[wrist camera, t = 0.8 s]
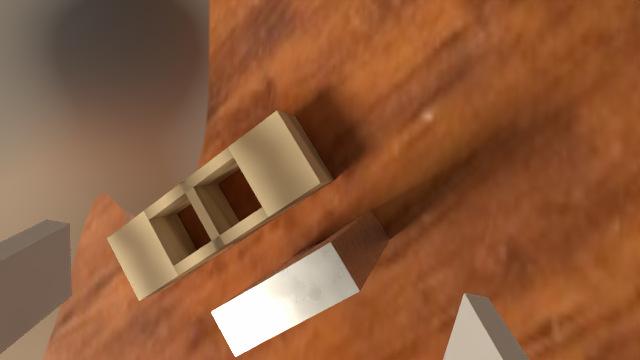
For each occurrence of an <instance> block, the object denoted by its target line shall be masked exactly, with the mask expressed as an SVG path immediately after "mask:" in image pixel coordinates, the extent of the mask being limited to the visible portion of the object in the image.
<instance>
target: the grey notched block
mask: <svg viewBox="0 0 640 360" xmlns="http://www.w3.org/2000/svg"><path fill="white" fill-rule="evenodd" d="M389 240H390V239H389V237H388V236H387V234H386V232H385V231H384V229H383V227H382V226H381V224H380V223H379V221H378V219H377V218H376V216H375V215H374V213H373V211H372V210H371V211H369V212H367V213H366V214H364V215H362V216H361V217H359V218H357V219H356V220H354V221H352V222H350V223H349V224H347V225H345V226H344V227H342V228H341V229H340V230H338V231H337V232H335V233H334V234H333V235H331V236H330V237H329V238H327V239H326V240H325V241H323V242H321V243H320V244H318V243H315V244H314V245H312V246H310V247H308V248H307V249H305V250H303V251H302V252H300V253H298V254H297V255H295V256H293V257H292V258H290V259H289V260H287V261H286V262H284V263H283V264H281V265H280V266H278V267H277V268H276V269H274V270H273V271H271V272H270V273H268V274H267V275H265V276H264V277H262V278H261V279H259V280H258V281H256V282H255V283H253V284H252V285H251V286H249V287H248V288H246V289H245V290H243V291H242V292H240V293H239V294H237V295H236V296H234V297H233V298H231V299H230V300H229V301H227V302H226V303H224V304H223V305H221V306H220V307H218V308H217V309H215V310H214V311H212V314H213V316H214V318H215V320H216V322H217V324H218V325H219V327H220V329H221V331H222V333H223V335H224V337H225V338H226V340H227V342H228V344H229V346H230V348H231V350H232V351H233V353H234V355H235V357H236V356H237V355H239V354H241V353H243V352H245V351H247V350H249V349H251V348H253V347H255V346H257V345H258V344H260V343H262V342H264V341H266V340H268V339H270V338H272V337H274V336H276V335H278V334H279V333H281V332H283V331H285V330H287V329H289V328H291V327H293V326H295V325H297V324H298V323H300V322H302V321H304V320H306V319H308V318H310V317H312V316H314V315H316V314H318V313H319V312H321V311H323V310H325V309H327V308H329V307H331V306H333V305H335V304H337V303H338V302H340V301H342V300H344V299H346V298H348V297H350V296H352V295H354V294H356V293H358V292H359V291H360V290H361V289H362V287H363V285H364V283H365V282H366V280H367V278H368V276H369V275H370V273H371V271H372V270H373V268H374V266H375V264H376V263H377V261H378V259H379V258H380V256H381V254H382V252H383V251H384V249H385V247H386V246H387V244H388V242H389Z"/></svg>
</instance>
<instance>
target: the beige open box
mask: <svg viewBox="0 0 640 360" xmlns="http://www.w3.org/2000/svg"><path fill="white" fill-rule="evenodd" d="M239 169H241V171H242V173H243V174H244V176H245V178H246V179H247V181H248V183H249V185H250V186H251V188H252V190H253V192H254V193H255V195H256V197H257V198H258V200H259V202H260V204H261V205H262V208H260V209H259V210H257V211H256V212H254V213H253V214H251V215H250V216H248V217H247V218H245V219H244V220H242V221H241V222H239V220H238V218H237V216H236V215H235V213H234V211H233V209H232V208H231V206H230V204H229V202H228V201H227V199H226V197H225V195H224V194H223V192H222V190H221V188H220V187H219V185H218V184H219V183H221V182H222V181H223V180H225V179H226V178H228V177H229V176H230V175H232V174H233V173H235V172H236V171H237V170H239ZM332 181H334V179H333V178H332V176H331V174H330V173H329V171H328V169H327V168H326V166H325V164H324V163H323V161H322V160H321V158H320V156H319V155H318V153H317V151H316V150H315V148H314V146H313V145H312V143H311V142H310V140H309V138H308V137H307V135H306V133H305V132H304V130H303V128H302V127H301V125H300V124H299V122H298V120H297V119H296V117H295V116H293V115H290V114H287V113H283V112H280V111H275V112H274V113H273V114H271V115H270V116H269V117H267V118H266V119H265V120H264V121H262V122H261V123H260V124H258V125H257V126H256V127H254V128H253V129H252V130H250V131H249V132H248V133H246V134H245V135H244V136H242V137H241V138H240V139H238V140H237V141H236V142H234V143H233V144H232V145H230V146H229V147H228V148H226V149H225V150H224V151H222V152H221V153H220V154H219V155H217V156H216V157H215V158H213V159H212V160H211V161H209V162H208V163H207V164H205V165H204V166H203V167H201V168H200V169H199V170H197V171H196V172H195V173H194V174H192V175H191V176H189V177H188V178H187V179H186V180H184V181H183V182H182V183H180V184H179V185H177V186H176V187H175V188H174V189H172V190H171V191H170V192H168V193H167V194H166V195H164V196H163V197H162V198H160V199H159V200H158V201H156V202H155V203H154V204H153V205H151V206H150V207H148V208H147V209H146V210H144V211H143V212H142V213H140V214H139V215H138V216H136V217H135V218H134V219H132V220H131V221H130V222H129V223H127V224H126V225H125V226H123V227H122V228H121V229H119V230H118V231H117V232H115V233H114V234H113V235H111V236H110V237H109V238H107V239H108V241H109V243H110V245H111V247H112V249H113V251H114V253H115V255H116V257H117V259H118V261H119V263H120V265H121V267H122V269H123V270H124V272H125V274H126V276H127V278H128V280H129V282H130V284H131V286H132V288H133V290H134V292H135V294H136V296H137V298H138V300H139V301H141V300H143V299H145V298H147V297H149V296H151V295H153V294H155V293H157V292H160V291H162V290H164V289H166V288H168V287H169V286H171V285H173V284H174V283H176V282H177V281H179V280H180V279H182V278H183V277H185V276H187V275H188V274H190V273H191V272H193V271H194V270H196V269H197V268H199V267H200V266H202V265H204V264H205V263H207V262H208V261H210V260H211V259H213V258H214V257H216V256H217V255H219V254H221V253H222V252H224V251H225V250H227V249H228V248H230V247H231V246H233V245H235V244H236V243H238V242H239V241H241V240H242V239H244V238H245V237H247V236H248V235H250V234H252V233H253V232H255V231H256V230H258V229H259V228H261V227H262V226H264V225H265V224H267V223H269V222H270V221H272V220H273V219H275V218H276V217H278V216H279V215H281V214H283V213H284V212H286V211H287V210H289V209H290V208H292V207H293V206H295V205H296V204H298V203H300V202H301V201H303V200H304V199H306V198H307V197H309V196H310V195H312V194H314V193H315V192H317V191H318V190H320V189H321V188H323V187H324V186H326V185H327V184H329V183H331V182H332ZM190 204H192V206H193V208H194V210H195V212H196V213H197V215H198V217H199V219H200V221H201V222H202V224H203V226H204V228H205V230H206V231H207V233H208V235H209V237H210V239H211V242H209V243H208V244H206V245H205V246H203V247H202V248H200V249H199V250H197V249H196V248H195V246H194V244H193V242H192V240H191V238H190V237H189V235H188V233H187V231H186V229H185V227H184V226H183V224H182V222H181V220H180V218H179V216H178V215H177V214H178V213H179V212H181V211H182V210H183V209H185V208H186V207H188V206H189V205H190Z"/></svg>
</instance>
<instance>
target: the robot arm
mask: <svg viewBox="0 0 640 360" xmlns="http://www.w3.org/2000/svg"><path fill="white" fill-rule="evenodd" d="M71 296H72V292H71V257H70V224H69V223H63V222H57V221H51V220H45V221H43V222H41V223H39V224H37V225H35V226H33V227H31V228H29V229H26V230H24V231H23V232H20V233H18V234H16V235H14V236H12V237H10V238H8V239H6V240H4V241H2V242H0V354H1V353H2V352H3V351H5V350H6V349H7V348H8V347H10V346H11V345H12V344H13V343H14V342H16V341H17V340H18V339H19V338H21V337H22V336H23V335H24V334H25V333H27V332H28V331H29V330H30V329H32V328H33V327H34V326H35V325H37V324H38V323H39V322H40V321H41V320H43V319H44V318H45V317H46V316H47V315H49V314H50V313H51V312H52V311H54V310H55V309H56V308H57V307H59V306H60V305H61V304H62V303H63V302H65V301H66V300H67V299H68V298H70V297H71ZM443 360H530V359H529V358H528V356H527V355H526V354H525V352H524V351H523V349H522V348H521V346H520V345H519V343H518V342H517V340H516V339H515V337H514V336H513V334H512V333H511V331H510V330H509V328H508V327H507V325H506V324H505V322H504V321H503V319H502V318H501V316H500V315H499V313H498V312H497V310H496V309H495V307H494V306H493V304H492V303H491V301H490V300H489V298H488V297H485V296H479V295H473V294H468V293H464V296H463V299H462V302H461V305H460V308H459V311H458V314H457V318H456V321H455V324H454V327H453V330H452V333H451V337H450V340H449V343H448V346H447V349H446V352H445V356H444V359H443Z"/></svg>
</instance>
